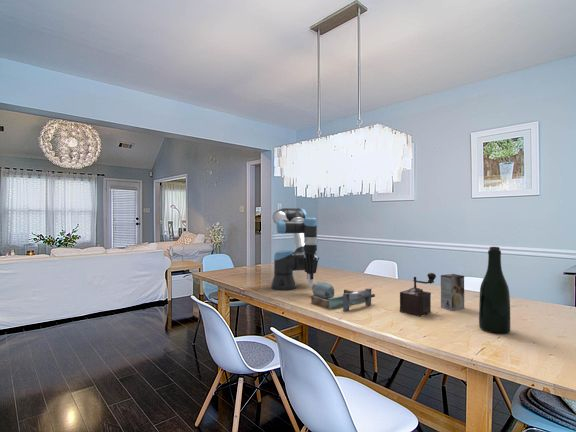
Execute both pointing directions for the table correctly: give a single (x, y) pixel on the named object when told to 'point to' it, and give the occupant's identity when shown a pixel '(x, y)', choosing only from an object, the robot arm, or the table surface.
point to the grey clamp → (355, 296)
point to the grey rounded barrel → (323, 290)
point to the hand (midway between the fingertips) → (310, 284)
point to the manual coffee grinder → (416, 299)
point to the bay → (333, 301)
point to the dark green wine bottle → (494, 297)
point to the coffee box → (452, 292)
